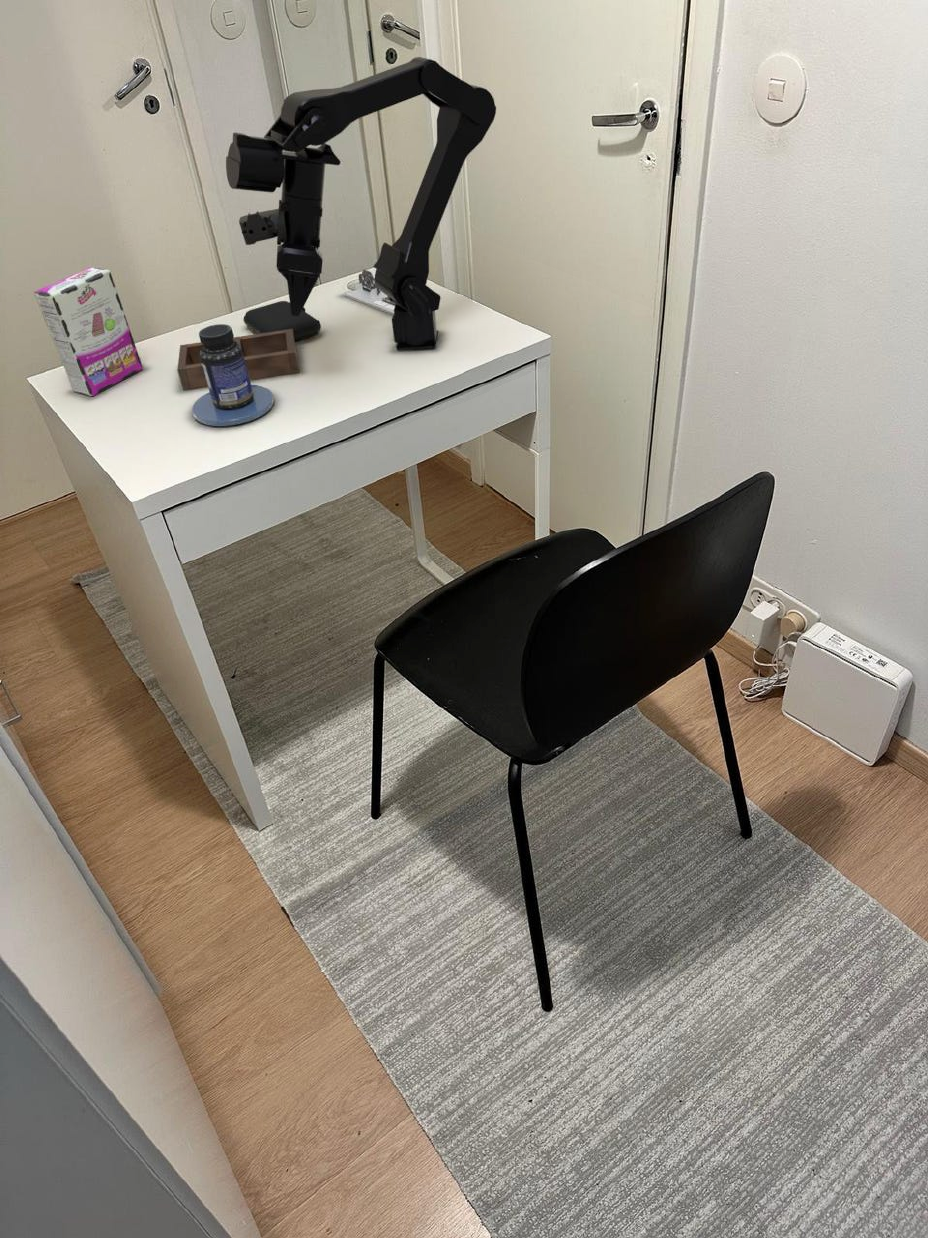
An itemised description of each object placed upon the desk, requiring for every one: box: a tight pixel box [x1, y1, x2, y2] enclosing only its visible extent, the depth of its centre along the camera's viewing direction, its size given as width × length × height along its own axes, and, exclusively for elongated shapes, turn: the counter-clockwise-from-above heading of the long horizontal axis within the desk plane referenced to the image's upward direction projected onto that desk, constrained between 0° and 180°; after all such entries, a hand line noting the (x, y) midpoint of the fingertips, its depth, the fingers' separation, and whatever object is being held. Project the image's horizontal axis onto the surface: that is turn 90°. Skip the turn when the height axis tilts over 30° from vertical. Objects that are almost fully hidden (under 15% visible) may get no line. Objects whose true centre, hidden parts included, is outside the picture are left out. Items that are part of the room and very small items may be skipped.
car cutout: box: [344, 269, 396, 316], centre depth 163 cm, size 15×7×4 cm, turn 42°
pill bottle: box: [198, 323, 253, 409], centre depth 131 cm, size 6×6×11 cm
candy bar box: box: [33, 266, 144, 397], centre depth 141 cm, size 11×5×16 cm, turn 148°
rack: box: [176, 329, 301, 391], centre depth 145 cm, size 18×10×4 cm, turn 101°
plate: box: [192, 384, 275, 427], centre depth 135 cm, size 12×12×1 cm
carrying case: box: [242, 300, 322, 344], centre depth 156 cm, size 11×3×15 cm
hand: (294, 307), depth 135 cm, fingers open, 9 cm apart
